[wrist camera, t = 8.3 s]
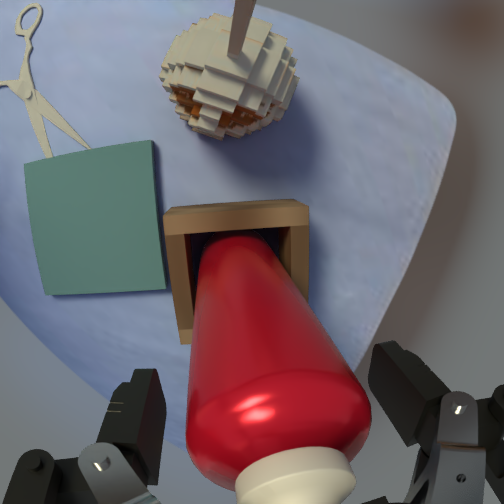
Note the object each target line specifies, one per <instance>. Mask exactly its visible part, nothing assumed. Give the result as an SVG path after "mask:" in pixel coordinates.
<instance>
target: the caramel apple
mask: <svg viewBox="0 0 504 504" xmlns="http://www.w3.org/2000/svg"><path fill="white" fill-rule="evenodd" d="M255 3H256V0H236V1H235V7H234V13H233V15H232V17H231V18H229V17H226V16H223V15H219V14H216V13H214V14H213V15H212V16H210V17H209V19H206V18H205V19H204V18H200V20H199V22H198V24H195V23H192V25H191V27H190V29H189V31H185V30H183V32H182V34H181V36H178V35H176V37H175V39H174V41H173V43H172V45H171V47H170V49H169V51H168V53H167V55H166V57H165V59H164V61H163V63H162V65H161V67H162V71H161V73H160V75H159V78H160V80H161V81H162V82H163V85H162V86H163V87H164V89H165V90H166V92H170V93H171V94H170V96H169V100H170V101H171V102H173V103H177V105H176V107H175V108H176V110H175V112H176V113H177V114H179V115H181V116H180V119H183V120H186V121H189V122H188V125H189V126H191V127H193V128H192V131H195V132H198V133H201V134H204V135H207V136H209V137H212V138H215V139H218V140H221V141H222V139H223V137H224V134H227V135H230V136H232V137H235V138H238V139H240V138H241V136H243V135H244V134H245V133H246V134H249V135H250V134H251V132H252V131H255V130H261V129H262V126H264V127H266V126H267V125H269V124H270V123H271V122H272V120H275V121H280V120H281V119H282V117H283V115H284V112H285V111H286V110H287V108H288V106H289V103H290V101H291V99H292V96H293V94H294V91H295V89H296V86H297V84H298V81H299V79H300V78H299V77H297V76H294V73H295V70H296V69H295V68H294V66H295V64H296V62H297V59H295V58H293V57H291V54H292V52H293V49H292V48H289V47H287V46H285V45H286V43H287V42H286V41H287V38H285V37H283V36H280V35H278V34H275V33H272V32H270V29H271V27H272V25H273V24H271V23H268V22H265V21H263V20H260V19H257V18H254V17H251V16H252V13H253V10H254V7H255Z"/></svg>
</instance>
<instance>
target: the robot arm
mask: <svg viewBox="0 0 504 504" xmlns="http://www.w3.org/2000/svg"><path fill="white" fill-rule="evenodd" d="M368 383H369V387H370V390H371V391H372V393H373V394H374V396H375V398H376V399H377V401H378V402H379V404H380V405H381V407H382V408H383V410H384V411H385V413H386V415H387V416H388V418H389V419H390V421H391V422H392V424H393V425H394V427H395V429H396V430H397V432H398V433H399V435H400V436H401V438H402V439H403V441H404V443H405V444H406V446H407V447H409V446H411V445H414V444H416V443H419V444H420V446H421V447H420V449H419V451H418V455H417V460H416V464H415V468H414V473H413V476H412V480H411V484H410V488H409V491H408V493H407V495H406V498H405V499H404V502H403V503H388V501H387V499H386V496H383V497H380V498H377V499H374V500H371V501H368V502H365V503H362V504H483V496H484V484H485V478H486V480H487V481H488V483H489V484H490V486H491V488H492V489H493V491H494V493H495V494H496V496H497V497H498V499H499V501H500V502H501V504H504V440H503V437H504V384H503V385H500V386H498V387H497V388H496V389H495V390H494V393H493V394H492V397H491V398H485V399H479V400H475V399H474V398H473V397H472V396H471V395H469V394H467V393H465V392H461V391H453V392H451V391H450V390H449V388H448V387H447V386H446V385H445V384H444V383H443V382H442V381H441V380H440V379H439V378H438V377H437V376H436V375H435V374H434V373H433V372H432V371H431V370H430V368H429V367H428V366H427V365H425V363H424V362H423V361H422V360H421V359H420V358H419V357H418V356H417V355H415V354H414V353H412V352H410V351H408V350H403V349H402V348H401V347H400V346H399V345H398V343H397V342H396V341H393V340H392V341H388V342H383V343H378V344H375V346H374V348H373V352H372V358H371V364H370V369H369V374H368ZM165 421H166V402H165V398H164V394H163V391H162V387H161V383H160V380H159V376H158V372H157V370H156V369H135V370H134V372H133V375H132V378H131V381H130V382H122V383H121V384H120V385H119V386H118V387H117V388H116V390H115V391H114V392H113V395H112V398H111V400H110V404H109V406H108V409H107V412H106V414H105V417H104V420H103V423H102V426H101V429H100V432H99V435H98V438H97V441H96V443H94V444H91V445H89V446H87V447H86V448H85V449H83V451H82V452H81V454H80V455H79V457H76V458H69V459H60V460H54V459H53V457H52V456H51V455H50V454H49V453H48V452H47V451H44V450H41V449H34V450H30V451H28V452H26V453H24V454H23V455H22V456H21V457H20V459H19V460H18V463H17V465H16V468H15V470H14V473H13V475H12V478H11V481H10V483H9V486H8V489H7V492H6V494H5V498H4V500H3V504H161V503H160V501H159V500H157V498H156V497H155V496H153V495H152V494H151V493H150V492H149V490H148V489H147V485H158V477H159V468H160V459H161V452H162V444H163V436H164V429H165Z"/></svg>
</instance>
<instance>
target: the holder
mask: <svg viewBox="0 0 504 504" xmlns="http://www.w3.org/2000/svg"><path fill="white" fill-rule="evenodd" d="M163 224H164V233H165V242H166V250H167V258H168V266H169V274H170V281H171V288H172V294H173V301H174V307H175V314H176V320H177V325H178V331H179V337H180V342H181V345H182V344H192V333H193V322H194V312H195V302H196V287H195V278H194V269H193V260H192V250H191V240H190V233H201V232H214V231H227V230H241V229H255V228H269V227H278V239H279V261H280V263H281V264H282V266H283V267H284V269H285V270H286V272H287V273H288V275H289V276H290V278H291V279H292V280H293V282H294V283H295V285H296V286H297V288H298V289H299V291H300V292H301V294H302V295H303V297H304V298H305V300H306V301H307V303H308V288H309V206H307V205H305V204H303V203H301V202H299V201H297V200H294V199H281V200H262V201H245V202H230V203H216V204H203V205H191V206H179V207H171V208H170V209H169V210H168V211H167V212H166V213H165V214H164V215H163Z"/></svg>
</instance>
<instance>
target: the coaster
mask: <svg viewBox="0 0 504 504" xmlns="http://www.w3.org/2000/svg"><path fill="white" fill-rule="evenodd" d="M24 172H25V184H26V194H27V203H28V210H29V218H30V224H31V230H32V236H33V242H34V247H35V252H36V257H37V262H38V266H39V271H40V275H41V279H42V283H43V287H44V291H45V295H66V294H89V293H108V292H126V291H143V290H159V289H166V288H167V279H166V272H165V264H164V257H163V249H162V241H161V232H160V223H159V213H158V203H157V191H156V179H155V165H154V148H153V141H152V140H147V141H139V142H132V143H125V144H119V145H112V146H106V147H101V148H95V149H89V150H84V151H79V152H74V153H69V154H65V155H60V156H55V157H51V158H47V159H42V160H38V161H34V162H30V163H26V164H24Z"/></svg>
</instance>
